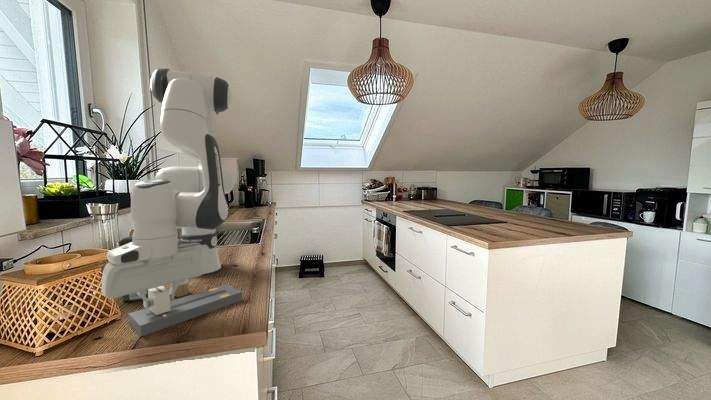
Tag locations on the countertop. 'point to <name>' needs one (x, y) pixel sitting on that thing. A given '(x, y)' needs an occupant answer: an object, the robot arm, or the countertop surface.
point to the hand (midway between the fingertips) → (159, 303)
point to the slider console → (184, 309)
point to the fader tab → (159, 300)
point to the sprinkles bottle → (182, 288)
